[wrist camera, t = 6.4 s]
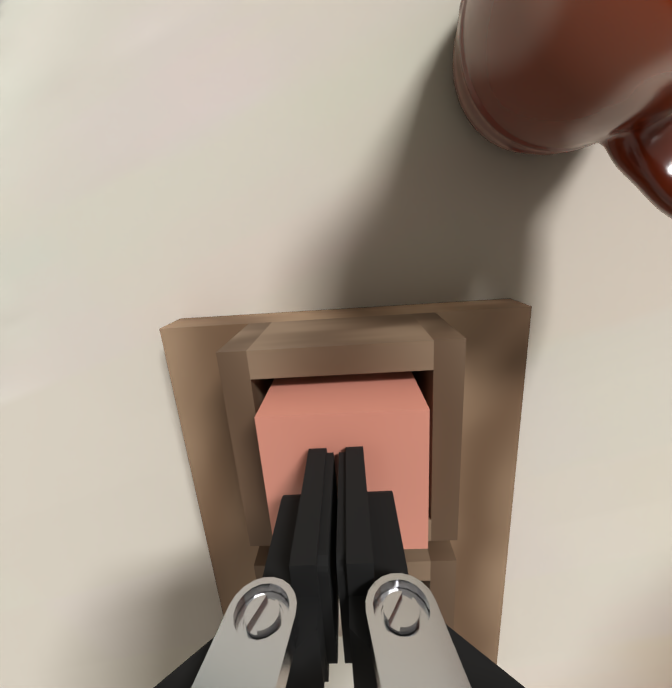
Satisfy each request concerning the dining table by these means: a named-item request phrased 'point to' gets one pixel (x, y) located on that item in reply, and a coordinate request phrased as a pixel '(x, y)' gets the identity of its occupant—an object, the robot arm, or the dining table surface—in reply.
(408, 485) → the brick key
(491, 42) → the mug
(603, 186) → the dining table surface
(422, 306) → the keypad
